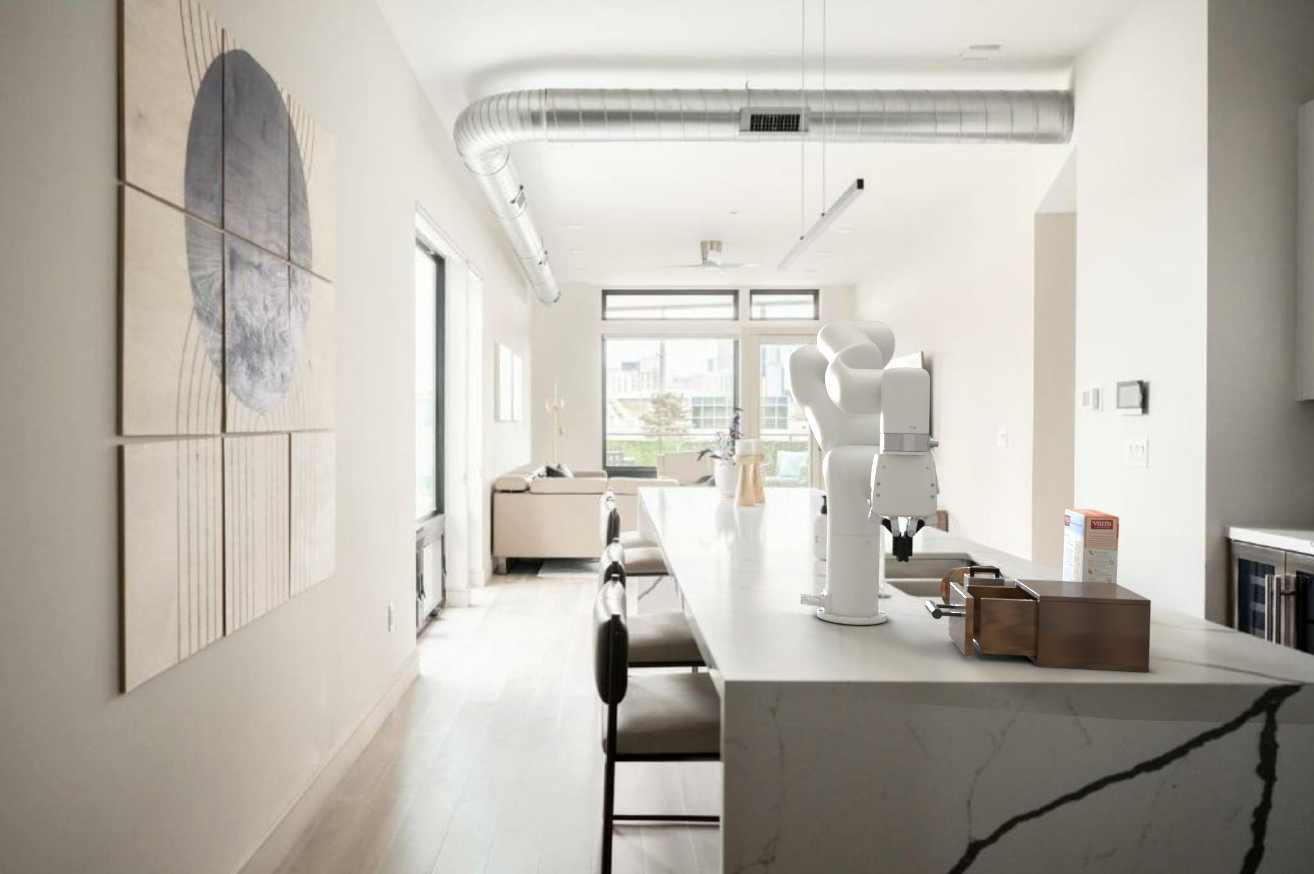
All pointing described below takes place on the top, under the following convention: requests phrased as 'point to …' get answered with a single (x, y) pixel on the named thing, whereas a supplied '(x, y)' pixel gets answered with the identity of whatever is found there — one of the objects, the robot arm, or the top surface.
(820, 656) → the top surface
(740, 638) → the top surface
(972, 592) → the drawer
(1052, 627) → the cabinet
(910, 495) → the robot arm
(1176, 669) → the top surface
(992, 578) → the grater
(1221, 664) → the top surface
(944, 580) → the tin
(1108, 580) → the cracker box
